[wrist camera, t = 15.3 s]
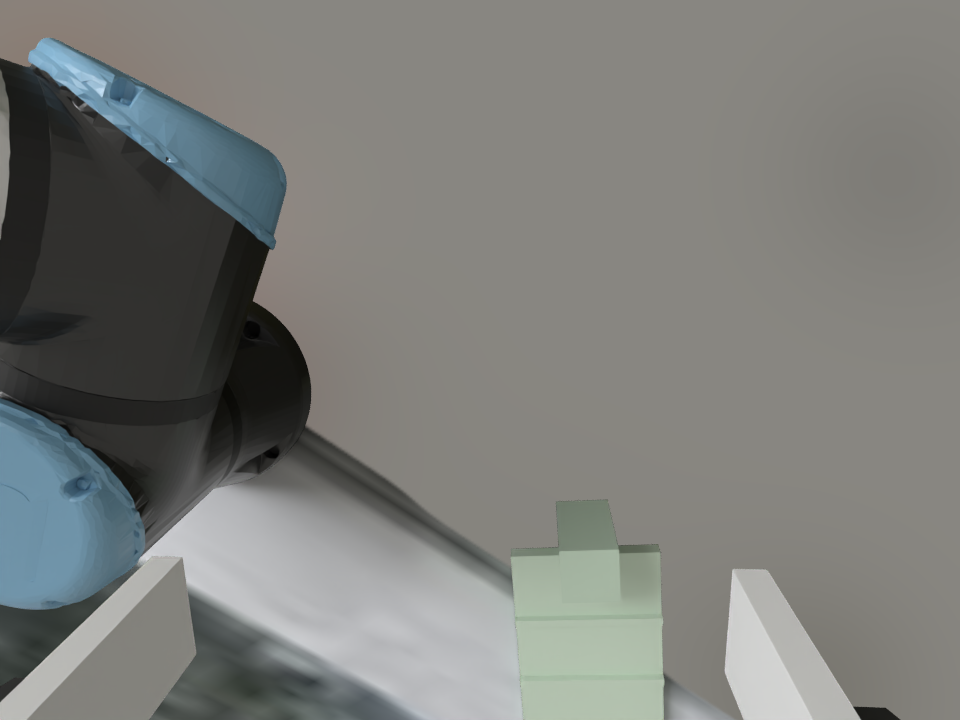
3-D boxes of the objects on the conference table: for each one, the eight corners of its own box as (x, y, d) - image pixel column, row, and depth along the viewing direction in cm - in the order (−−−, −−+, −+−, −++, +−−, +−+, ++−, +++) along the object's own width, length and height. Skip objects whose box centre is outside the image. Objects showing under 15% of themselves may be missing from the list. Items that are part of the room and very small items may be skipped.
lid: (524, 725, 58) (523, 802, 50) (507, 503, 53) (503, 553, 45) (661, 724, 57) (679, 803, 49) (657, 497, 52) (676, 547, 44)
